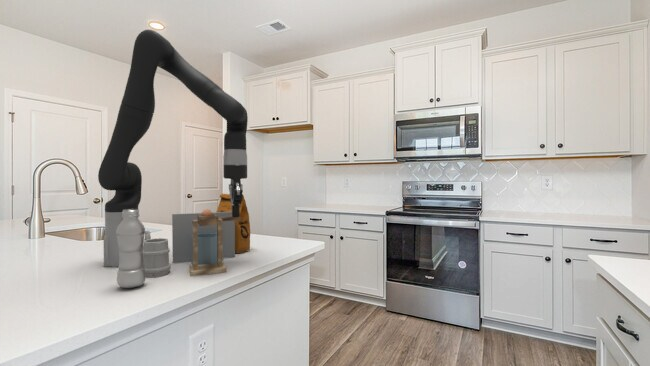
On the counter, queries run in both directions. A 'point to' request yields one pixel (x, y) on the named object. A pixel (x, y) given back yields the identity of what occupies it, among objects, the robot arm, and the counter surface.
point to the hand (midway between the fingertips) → (235, 217)
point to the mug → (156, 256)
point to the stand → (220, 265)
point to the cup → (206, 248)
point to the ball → (206, 212)
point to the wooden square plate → (213, 219)
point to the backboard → (184, 231)
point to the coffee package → (238, 223)
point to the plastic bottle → (131, 250)
